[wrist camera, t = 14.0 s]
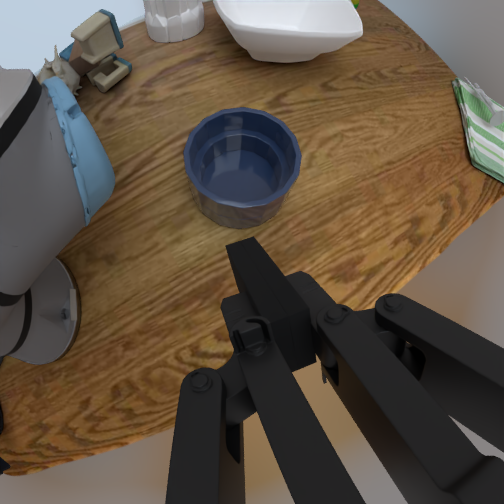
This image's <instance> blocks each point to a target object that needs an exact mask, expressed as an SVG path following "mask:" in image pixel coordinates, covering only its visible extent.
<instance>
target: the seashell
mask: <svg viewBox="0 0 504 504" xmlns="http://www.w3.org/2000/svg"><path fill="white" fill-rule="evenodd" d="M45 63H46V64H44V66H43V68H42V69H41V71H40V73H39V76H38V78H37V80H38V82H39V83H40V85H41V83H42V82H43V81H44V80H45V79H50V78H51V77H54V76H56V77H59V78H60V79H61V80H62V81H63V82H64V83H65V84H66V85H67V87H68V88H69V89H70V91H71V92H72V94H73V95H78V93H76V90H77V89H80V88H82V86H79V81H80V75H79V74H78V73H77V72H76V71H75V70H74V68H73V67H72V66H71V65H70V64H69V62H64V61H61V59H60V58H59V56H58V53H57V49H56V45H55V59H54V61H52V62H48V61H47V60H46V58H45Z"/></svg>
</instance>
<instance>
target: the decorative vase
mask: <svg viewBox="0 0 504 504" xmlns="http://www.w3.org/2000/svg"><path fill="white" fill-rule="evenodd" d="M143 2H144V7H145V22H146V26H147V30H148V35H149V37H150V38H151V39H152V40H154V41H155V42H161V43H168V42H169V41H170V42H178V41H183V39H184V40H186V39H189V38H191V37H193V36H195V35H197V34H198V33H200V32H201V31H202V30H203V27H204V8H203V5H202V2H201V0H143Z"/></svg>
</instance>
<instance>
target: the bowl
mask: <svg viewBox="0 0 504 504" xmlns="http://www.w3.org/2000/svg"><path fill="white" fill-rule="evenodd" d="M213 3H214V5H215V8H216V11H217V12H218V14H219V15H220V17H221V19H222V20H223V22H224V23H225V25H226V26H227V28H228V30H229V31H230V33H231V34H232V36H233V37H234V39H235V41H236V42H237V43H238V44H239V45H240V46H242V47H243V48H244V49H247V51H248V52H249V54H250V55H251V57H252V58H253V59H255V60H259V61H269V62H282V63H289V62H300V61H308V60H312V59H314V58H315V57H316V56H318V55H319V54H321V53H328V52H332V51H336V50H338V49H339V48H341V47H343V46H345V45H346V44H348V43H350V42H352V41H353V40H355V39H357V38H359V37H361V36H362V34H363V28H362V22H361V19H360V17H359V15H358V13H357V11H356V10H355V8H354V7H353V5H352V4H351V3H350V1H349V0H213Z"/></svg>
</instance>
